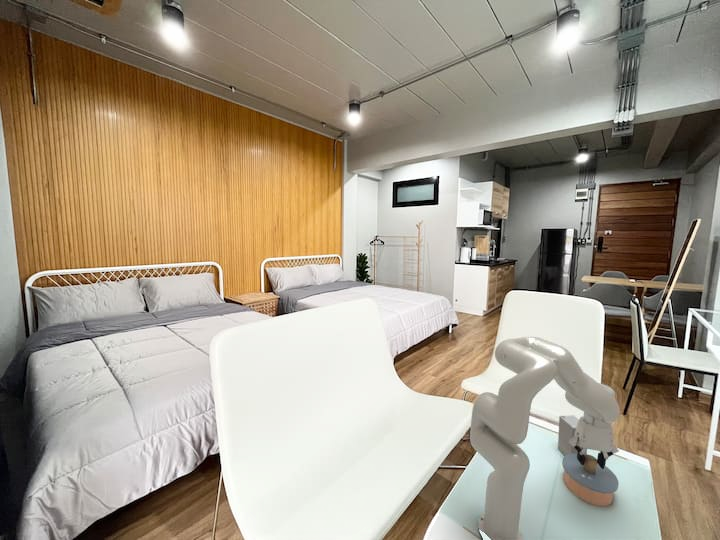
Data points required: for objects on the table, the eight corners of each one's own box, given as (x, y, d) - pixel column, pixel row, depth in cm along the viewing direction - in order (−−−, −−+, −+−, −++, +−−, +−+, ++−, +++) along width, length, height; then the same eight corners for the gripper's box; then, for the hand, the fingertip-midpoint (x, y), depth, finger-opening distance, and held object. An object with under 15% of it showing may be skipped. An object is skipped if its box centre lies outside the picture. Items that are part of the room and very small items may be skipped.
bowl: (621, 510, 98) (624, 494, 97) (574, 500, 101) (576, 485, 100) (598, 476, 111) (600, 462, 110) (557, 468, 115) (559, 455, 114)
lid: (629, 498, 96) (632, 481, 95) (574, 487, 99) (576, 471, 99) (601, 460, 111) (604, 446, 110) (555, 452, 115) (556, 438, 114)
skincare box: (586, 463, 117) (591, 428, 115) (569, 463, 117) (573, 428, 115) (571, 447, 126) (575, 414, 123) (554, 447, 125) (559, 414, 123)
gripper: (619, 416, 104) (612, 460, 106) (564, 408, 108) (559, 451, 110) (633, 430, 96) (625, 477, 99) (574, 421, 100) (568, 467, 103)
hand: (590, 463), depth 105 cm, fingers open, 5 cm apart
